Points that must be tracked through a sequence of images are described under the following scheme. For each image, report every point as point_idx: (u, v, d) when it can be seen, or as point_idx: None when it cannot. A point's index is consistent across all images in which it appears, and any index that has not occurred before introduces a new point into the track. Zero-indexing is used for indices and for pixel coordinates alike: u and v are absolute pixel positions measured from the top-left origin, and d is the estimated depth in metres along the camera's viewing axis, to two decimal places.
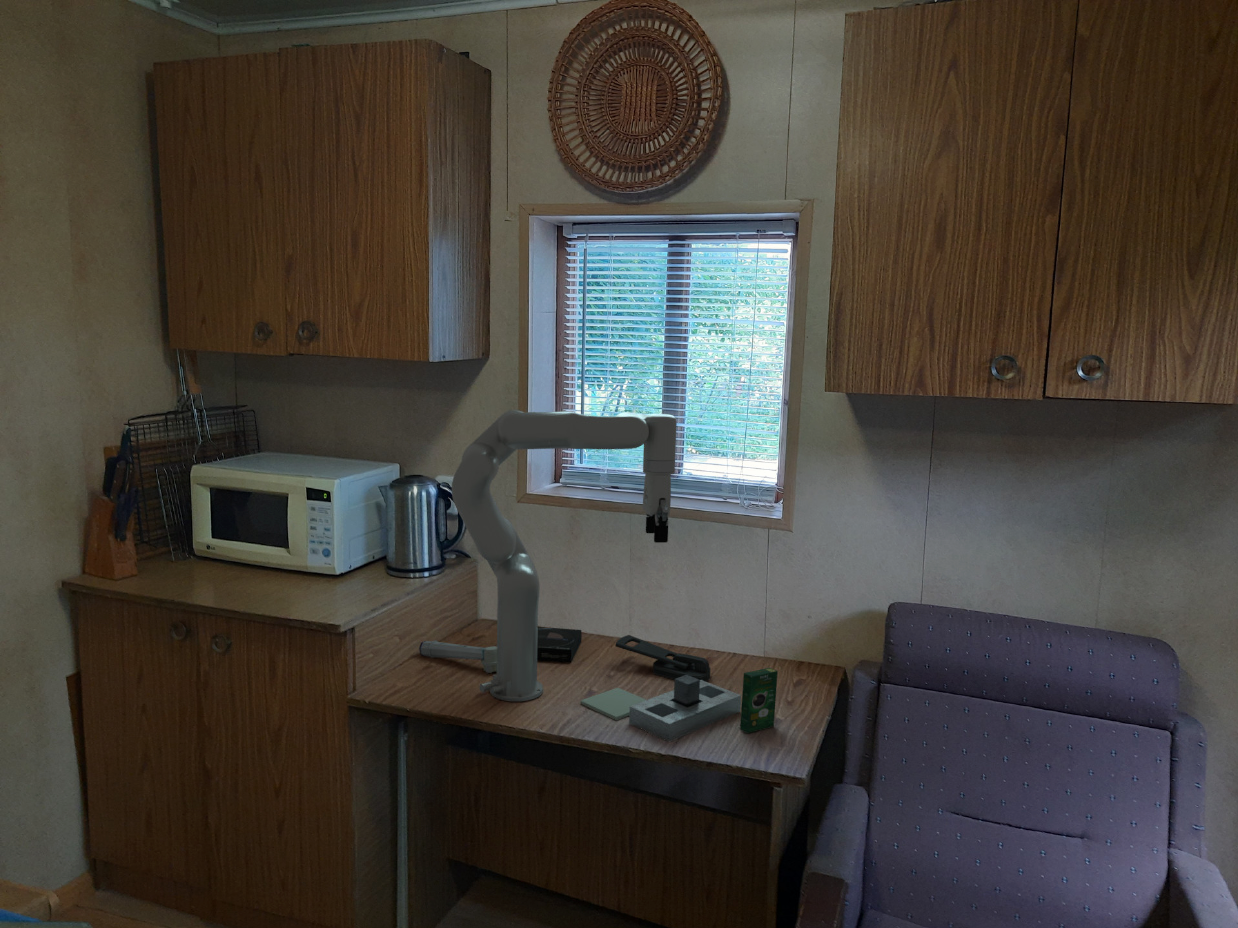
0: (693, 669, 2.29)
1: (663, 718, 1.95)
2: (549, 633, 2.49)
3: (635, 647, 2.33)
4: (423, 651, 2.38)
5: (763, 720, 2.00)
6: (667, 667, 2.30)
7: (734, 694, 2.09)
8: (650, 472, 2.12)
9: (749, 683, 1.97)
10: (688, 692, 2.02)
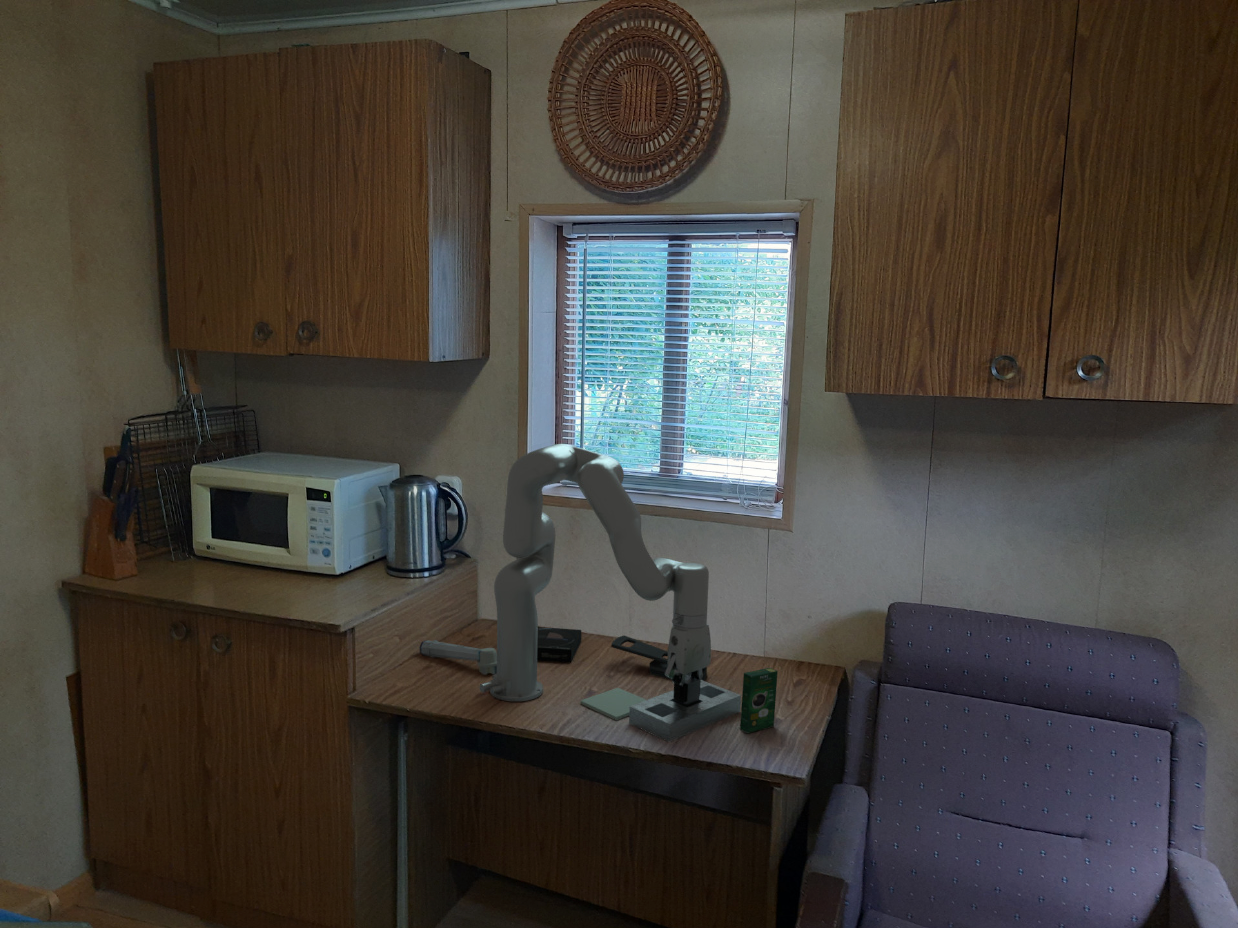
0: None
1: (663, 718, 1.95)
2: (549, 633, 2.49)
3: (631, 647, 2.33)
4: (423, 650, 2.38)
5: (763, 720, 2.00)
6: (664, 667, 2.30)
7: (734, 694, 2.09)
8: None
9: (749, 683, 1.97)
10: (688, 692, 2.02)
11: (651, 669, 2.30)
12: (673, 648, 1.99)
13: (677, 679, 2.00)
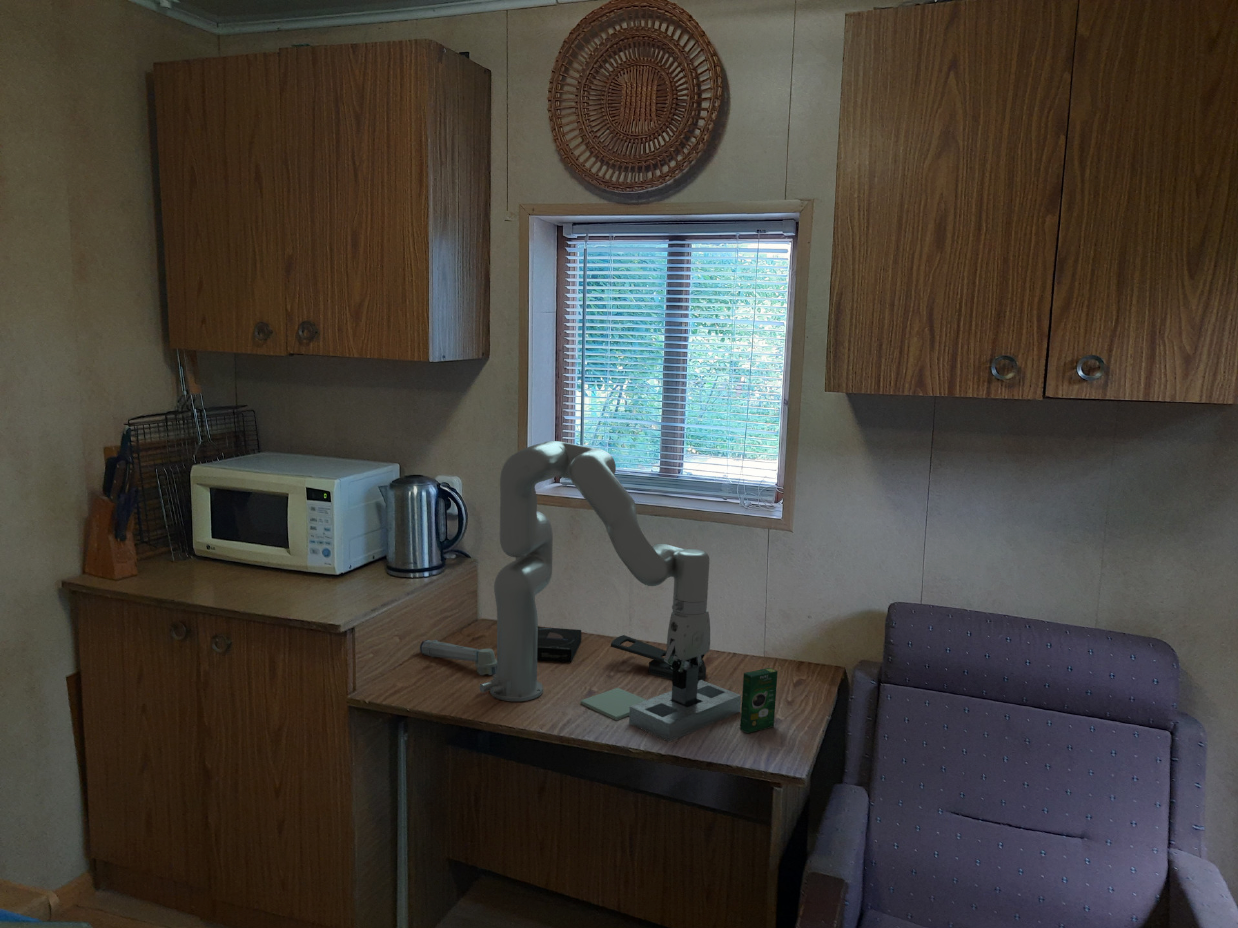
0: None
1: (663, 718, 1.95)
2: (549, 633, 2.49)
3: (630, 647, 2.33)
4: (423, 650, 2.39)
5: (763, 720, 2.00)
6: (663, 666, 2.30)
7: (734, 694, 2.09)
8: None
9: (749, 683, 1.97)
10: (687, 678, 2.01)
11: (650, 669, 2.31)
12: (673, 634, 1.99)
13: (676, 665, 2.00)
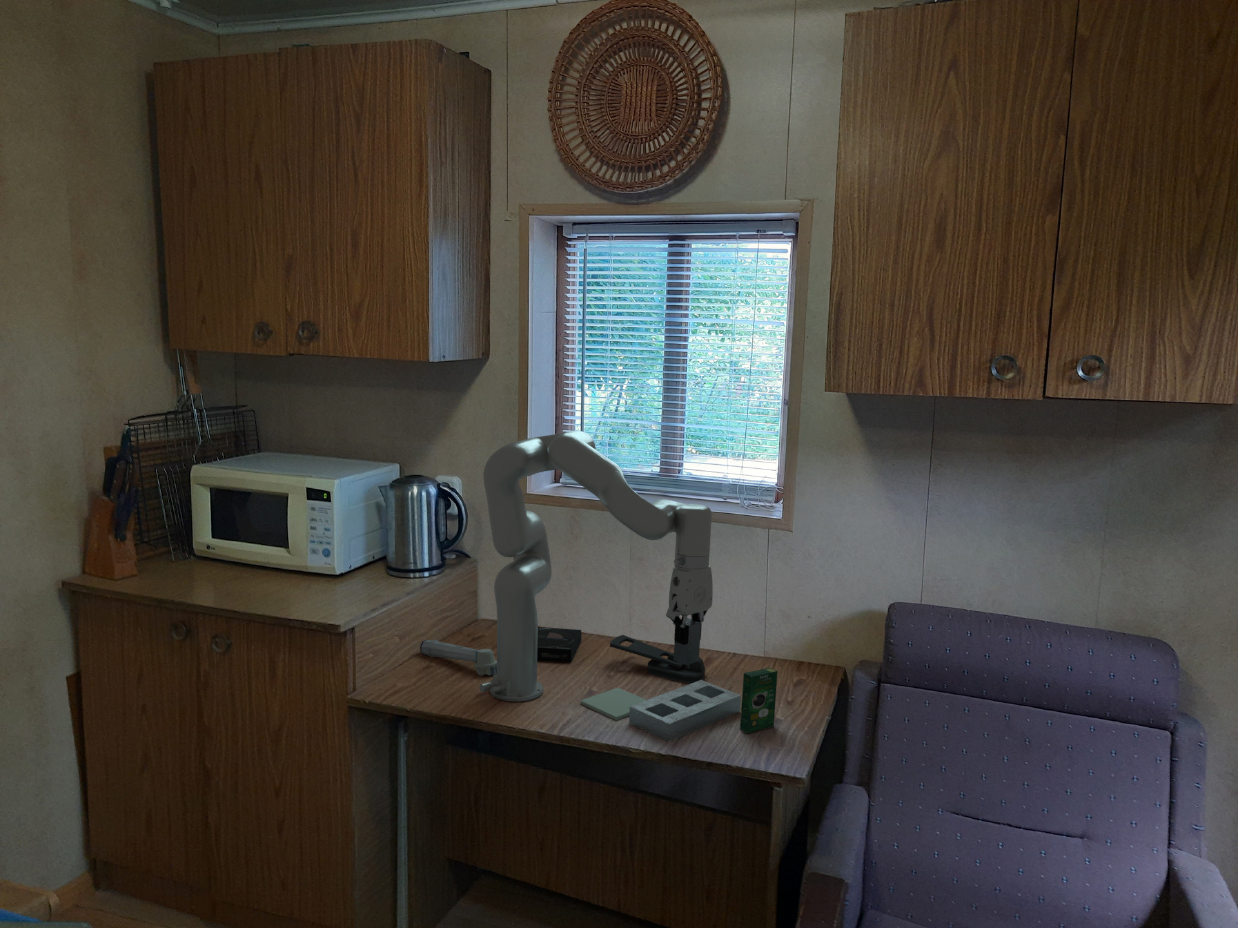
0: (688, 668, 2.30)
1: (663, 718, 1.95)
2: (549, 633, 2.49)
3: (629, 647, 2.33)
4: (423, 650, 2.39)
5: (763, 720, 2.00)
6: (662, 666, 2.30)
7: (734, 694, 2.09)
8: (708, 565, 2.00)
9: (749, 683, 1.97)
10: (689, 634, 2.00)
11: (649, 668, 2.31)
12: (675, 589, 1.98)
13: (678, 620, 1.99)
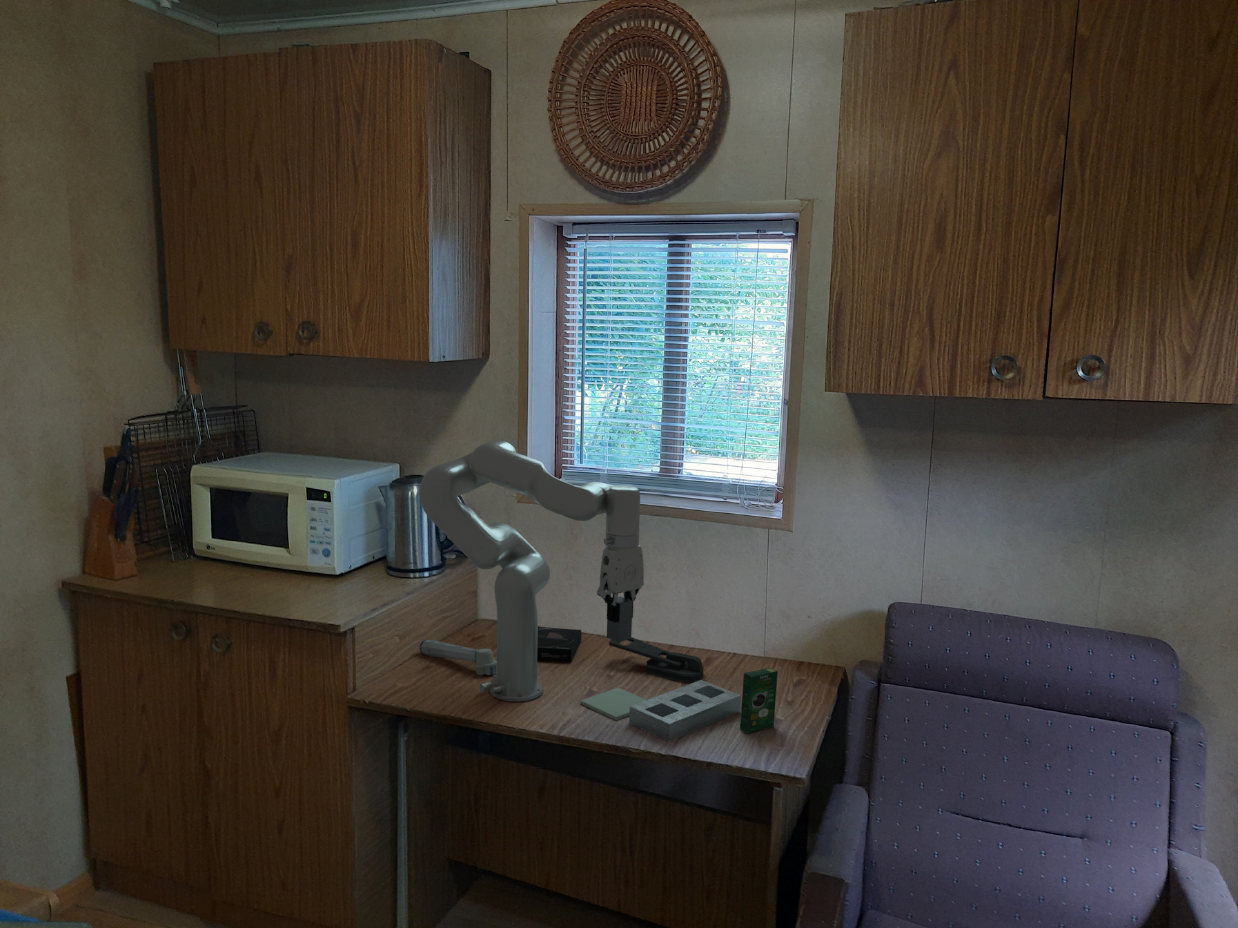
0: (686, 668, 2.30)
1: (663, 718, 1.95)
2: (549, 633, 2.49)
3: (628, 646, 2.34)
4: (423, 650, 2.39)
5: (763, 720, 2.00)
6: (660, 665, 2.31)
7: (734, 694, 2.09)
8: (638, 545, 2.06)
9: (749, 683, 1.97)
10: (620, 611, 2.05)
11: (648, 667, 2.32)
12: (605, 568, 2.03)
13: (609, 599, 2.04)
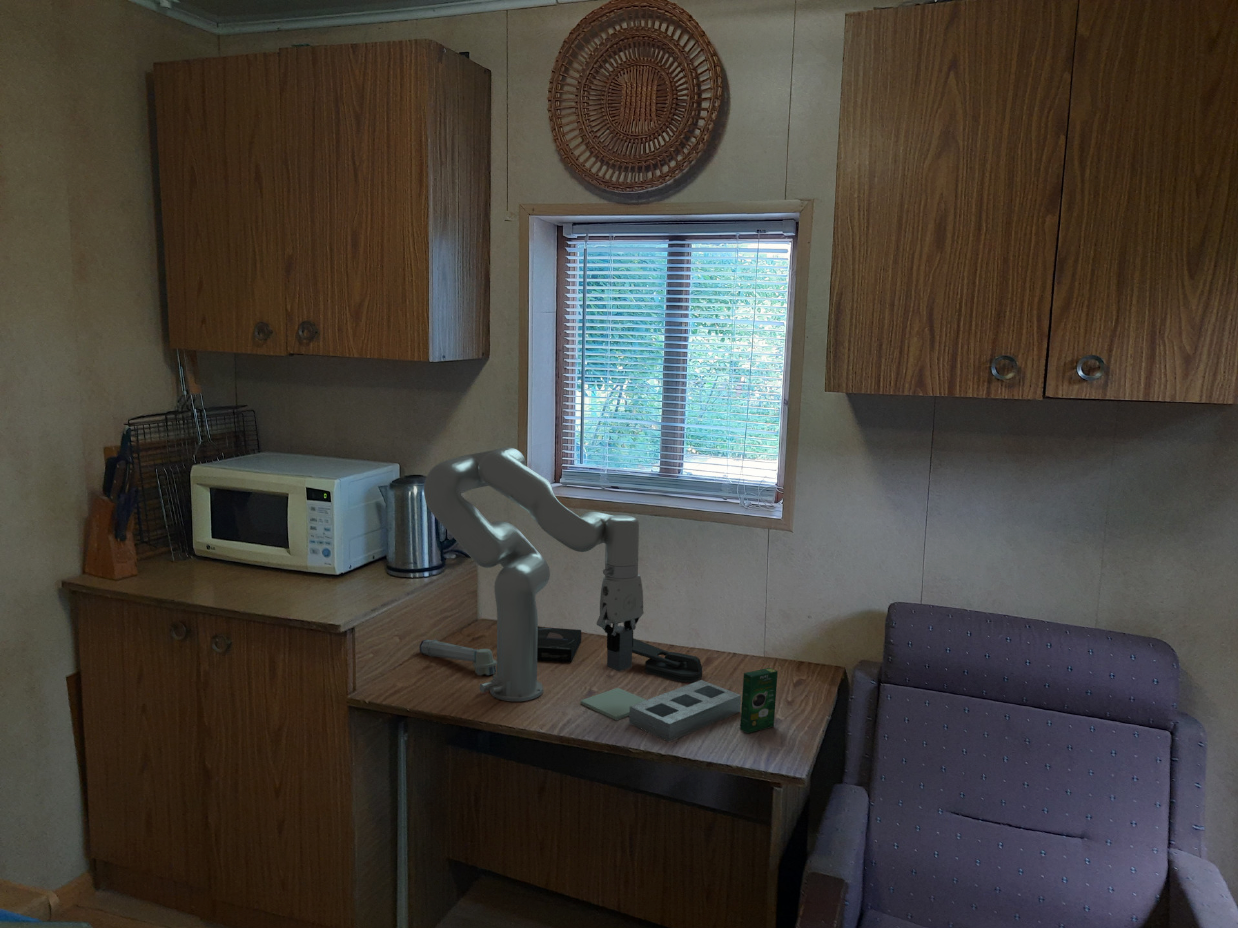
0: (685, 667, 2.30)
1: (663, 718, 1.95)
2: (549, 633, 2.49)
3: None
4: (423, 649, 2.39)
5: (763, 720, 2.00)
6: (659, 665, 2.31)
7: (734, 694, 2.09)
8: (637, 574, 2.07)
9: (749, 683, 1.97)
10: (620, 641, 2.06)
11: (647, 667, 2.32)
12: (605, 598, 2.04)
13: (609, 629, 2.05)
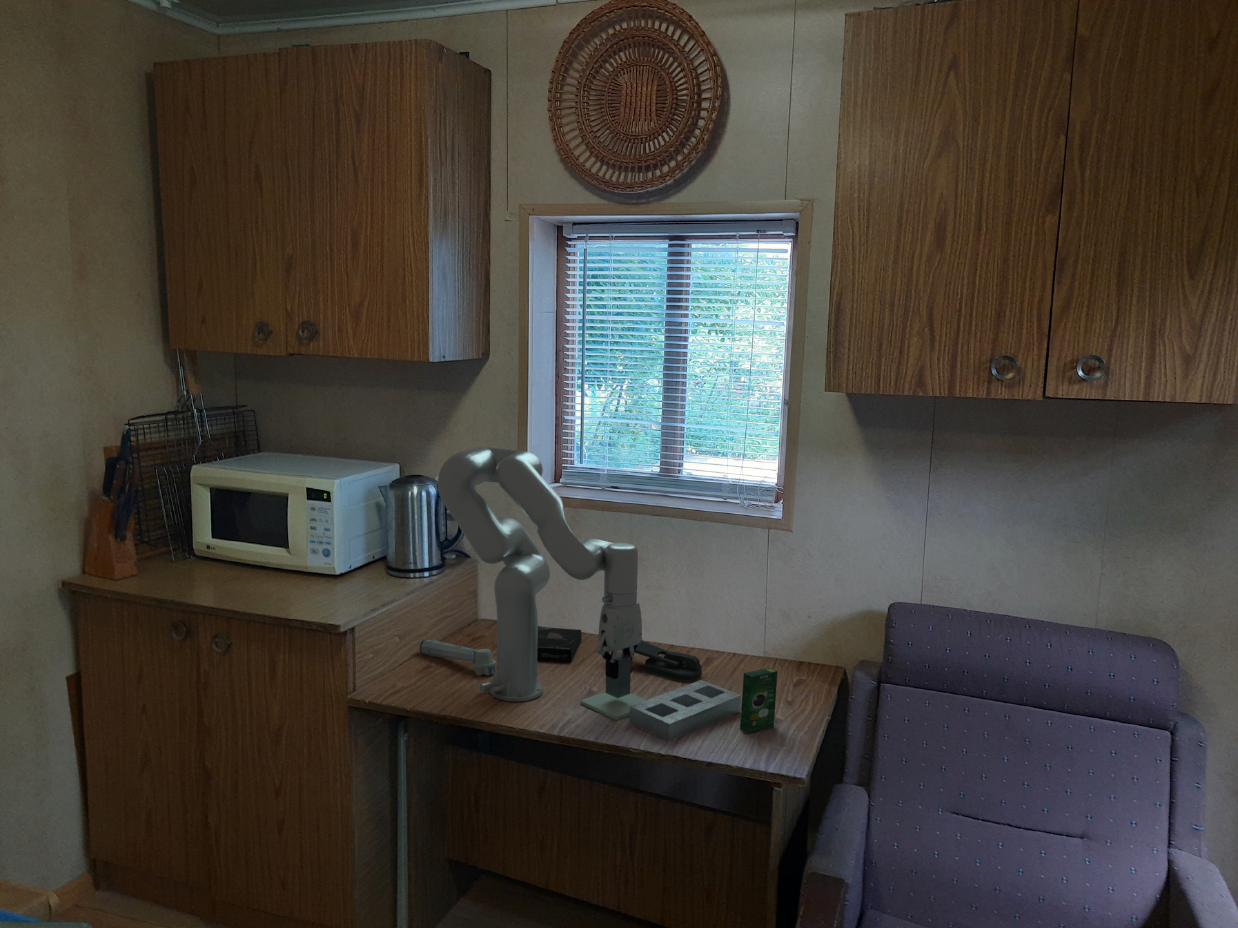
0: (684, 667, 2.30)
1: (663, 718, 1.95)
2: (549, 633, 2.49)
3: None
4: (423, 649, 2.39)
5: (763, 720, 2.00)
6: (659, 664, 2.32)
7: (734, 694, 2.09)
8: (636, 602, 2.08)
9: (749, 683, 1.97)
10: (619, 668, 2.07)
11: (646, 666, 2.32)
12: (603, 626, 2.05)
13: (608, 656, 2.06)
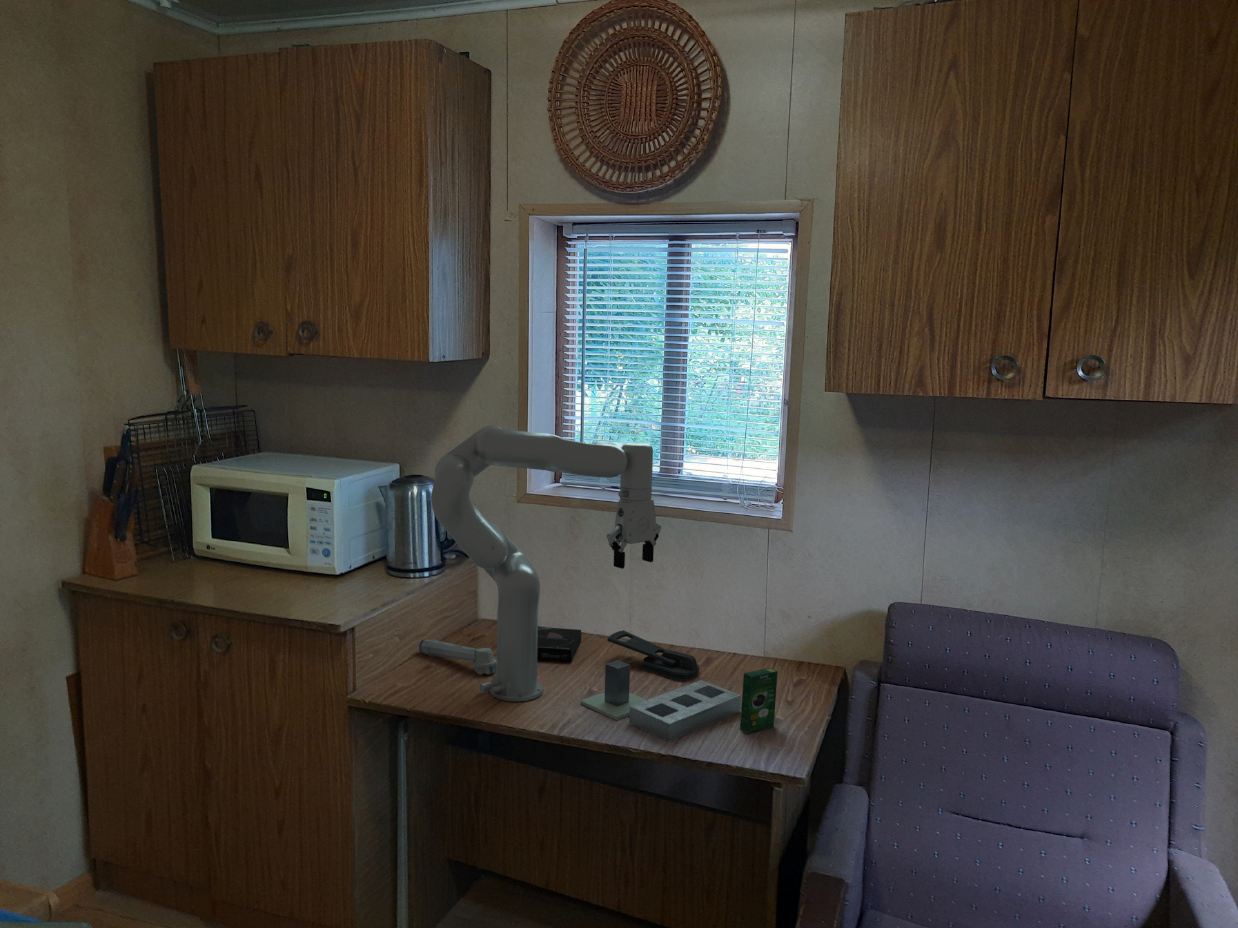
0: (681, 666, 2.31)
1: (663, 718, 1.95)
2: (549, 633, 2.49)
3: (626, 642, 2.37)
4: (422, 649, 2.39)
5: (763, 720, 2.00)
6: (656, 663, 2.33)
7: (734, 694, 2.09)
8: None
9: (749, 683, 1.97)
10: (618, 676, 2.07)
11: (643, 664, 2.34)
12: (620, 520, 2.14)
13: (616, 545, 2.13)
